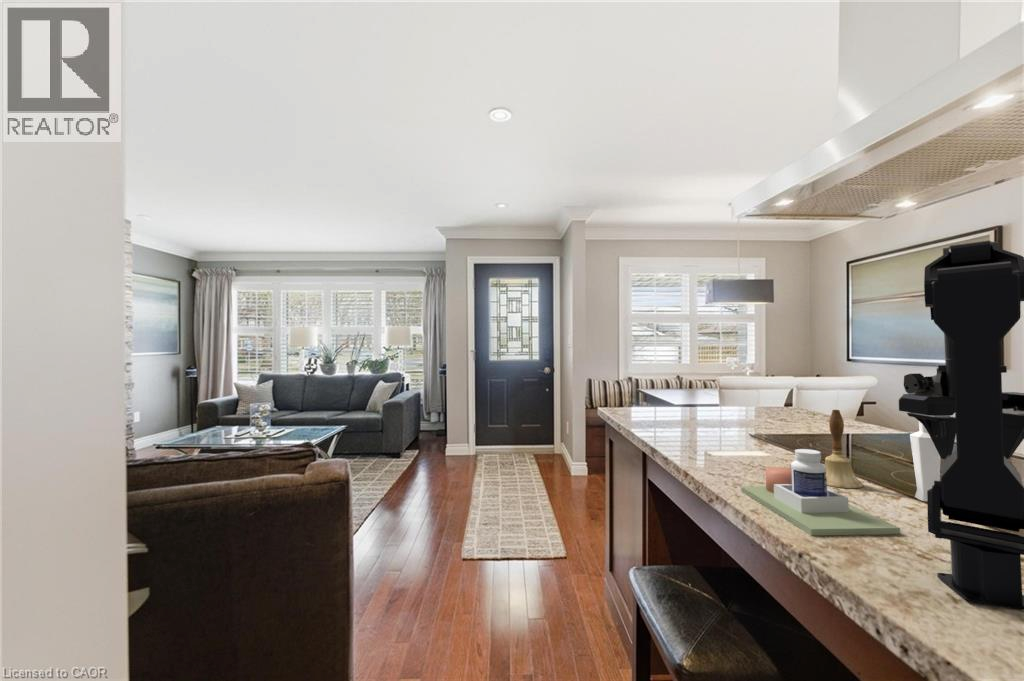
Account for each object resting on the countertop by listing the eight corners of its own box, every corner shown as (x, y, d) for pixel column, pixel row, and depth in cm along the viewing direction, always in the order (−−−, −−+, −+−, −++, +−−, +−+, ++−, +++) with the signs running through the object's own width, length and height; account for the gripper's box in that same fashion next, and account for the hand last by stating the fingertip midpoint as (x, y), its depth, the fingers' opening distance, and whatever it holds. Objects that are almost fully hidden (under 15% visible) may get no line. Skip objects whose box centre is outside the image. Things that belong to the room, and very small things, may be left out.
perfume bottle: (907, 497, 86) (903, 420, 87) (920, 494, 88) (917, 419, 88) (936, 505, 82) (933, 424, 83) (950, 501, 84) (946, 422, 84)
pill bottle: (833, 510, 78) (831, 454, 78) (800, 508, 79) (798, 454, 79) (818, 500, 83) (816, 448, 83) (787, 498, 84) (785, 447, 84)
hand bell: (807, 477, 101) (805, 407, 101) (844, 477, 100) (842, 407, 101) (832, 489, 93) (829, 413, 93) (873, 488, 92) (870, 412, 93)
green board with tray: (900, 534, 70) (898, 502, 70) (811, 535, 70) (810, 503, 70) (808, 490, 92) (807, 466, 92) (741, 491, 92) (740, 467, 92)
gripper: (976, 357, 77) (980, 446, 77) (869, 359, 77) (873, 448, 77) (1054, 358, 66) (1059, 462, 66) (929, 360, 66) (933, 465, 66)
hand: (974, 458), depth 69 cm, fingers open, 9 cm apart
